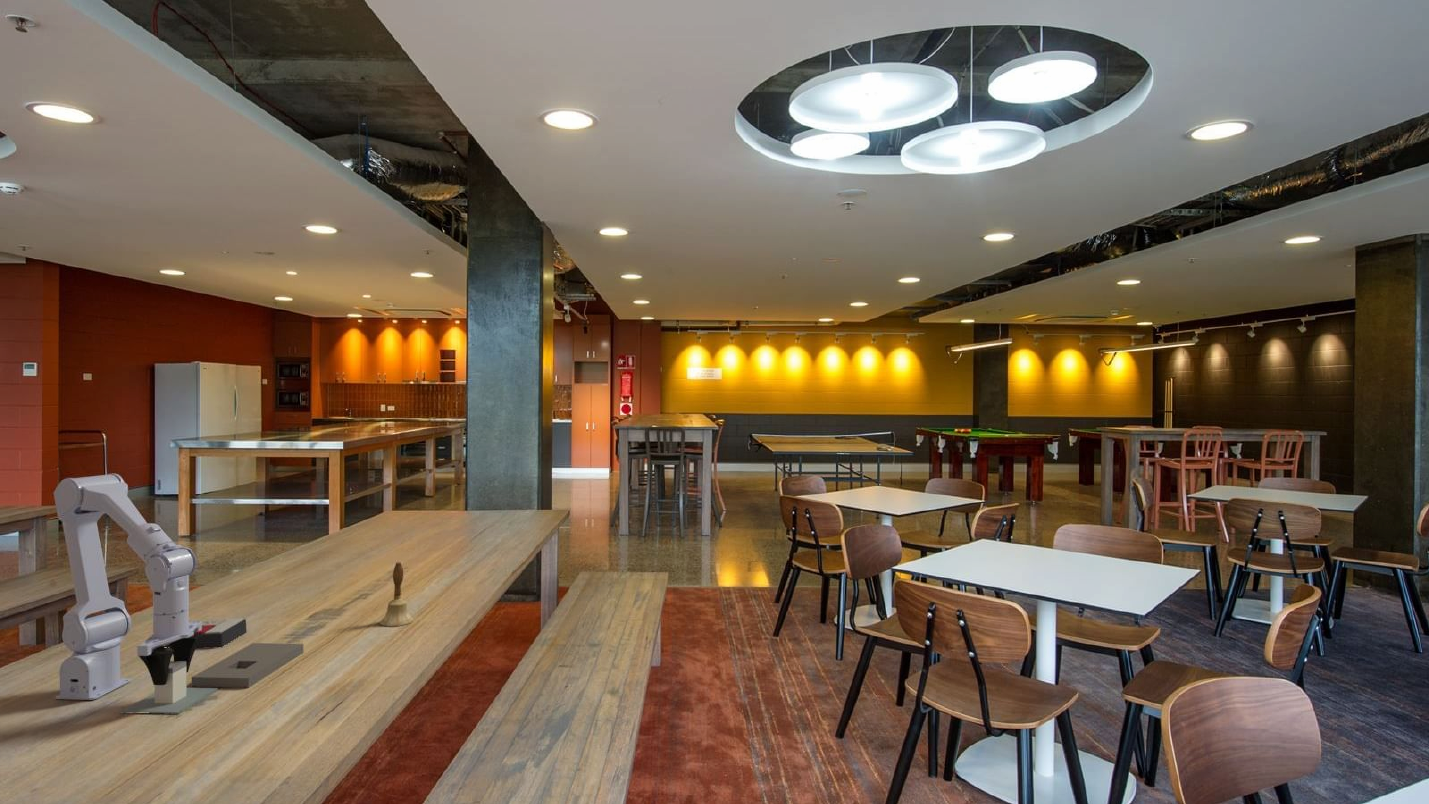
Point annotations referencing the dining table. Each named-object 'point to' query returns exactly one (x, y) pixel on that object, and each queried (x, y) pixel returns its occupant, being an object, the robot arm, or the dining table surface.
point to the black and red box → (220, 632)
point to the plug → (172, 684)
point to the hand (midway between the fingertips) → (171, 678)
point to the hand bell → (397, 603)
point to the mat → (150, 706)
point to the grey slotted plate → (247, 665)
